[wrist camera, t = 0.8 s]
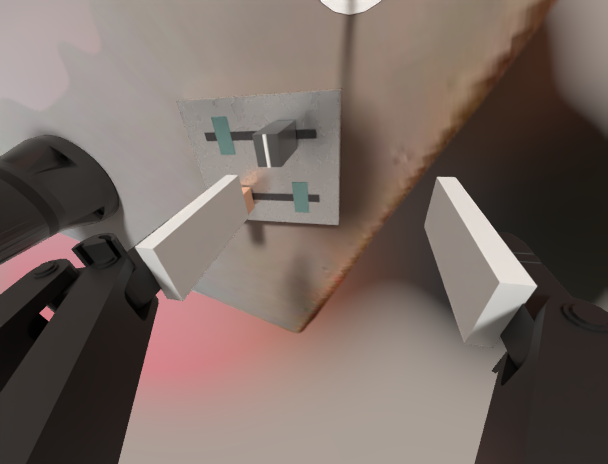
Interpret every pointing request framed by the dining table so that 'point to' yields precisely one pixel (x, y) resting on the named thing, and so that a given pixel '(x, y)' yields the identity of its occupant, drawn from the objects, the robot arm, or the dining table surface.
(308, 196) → the console
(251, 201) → the block
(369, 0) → the wineglass
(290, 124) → the fader black
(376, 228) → the dining table surface
